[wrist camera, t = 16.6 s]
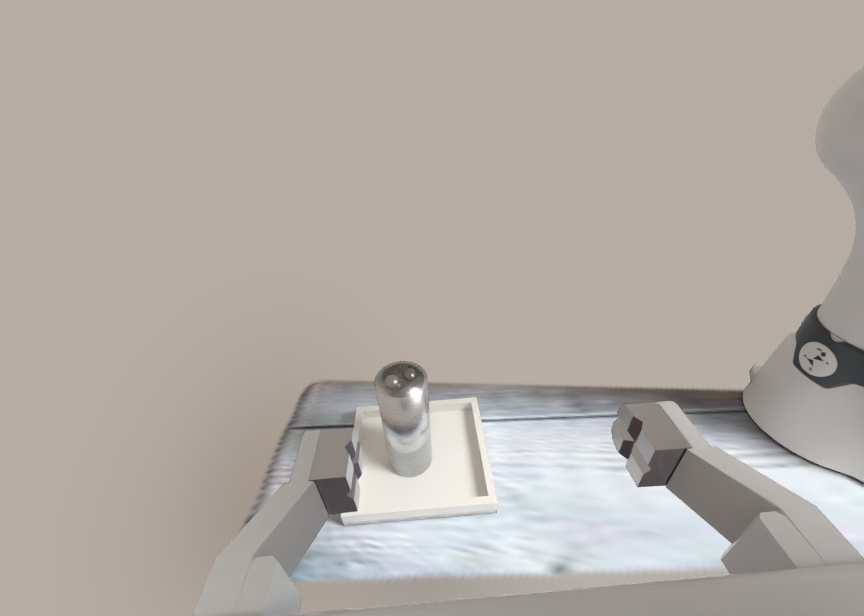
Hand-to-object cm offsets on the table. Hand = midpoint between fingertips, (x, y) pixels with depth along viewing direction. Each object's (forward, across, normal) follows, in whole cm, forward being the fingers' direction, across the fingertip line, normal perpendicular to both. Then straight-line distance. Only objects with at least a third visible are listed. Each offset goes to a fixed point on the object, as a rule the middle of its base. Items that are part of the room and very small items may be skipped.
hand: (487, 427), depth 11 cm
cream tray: (+19, +4, +30) cm, 36 cm away
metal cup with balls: (+19, +5, +29) cm, 35 cm away
